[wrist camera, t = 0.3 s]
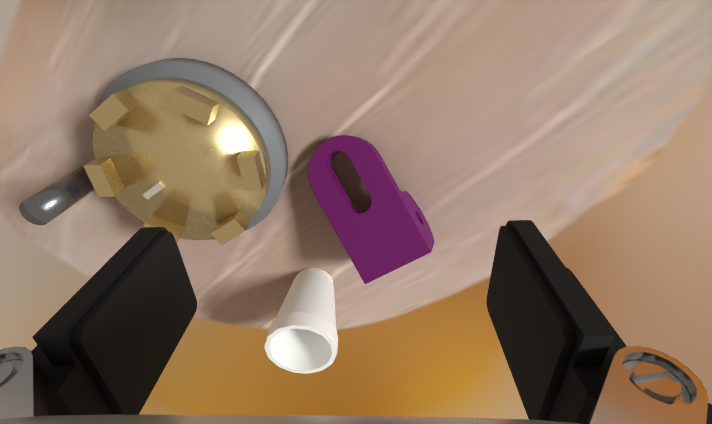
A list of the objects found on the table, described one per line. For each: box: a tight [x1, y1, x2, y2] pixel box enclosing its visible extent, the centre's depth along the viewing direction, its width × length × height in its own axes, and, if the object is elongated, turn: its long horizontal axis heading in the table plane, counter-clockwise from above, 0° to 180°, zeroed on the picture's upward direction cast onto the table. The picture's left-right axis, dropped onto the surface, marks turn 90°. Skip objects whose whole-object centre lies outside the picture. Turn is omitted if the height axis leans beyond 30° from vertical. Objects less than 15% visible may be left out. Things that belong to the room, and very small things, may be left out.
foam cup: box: [265, 268, 338, 374], centre depth 54 cm, size 10×9×13 cm
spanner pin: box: [19, 166, 95, 225], centre depth 46 cm, size 3×3×10 cm
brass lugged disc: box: [84, 78, 271, 245], centre depth 43 cm, size 20×20×4 cm
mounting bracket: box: [309, 135, 434, 284], centre depth 49 cm, size 9×8×18 cm
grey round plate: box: [98, 58, 288, 230], centre depth 47 cm, size 23×23×3 cm
